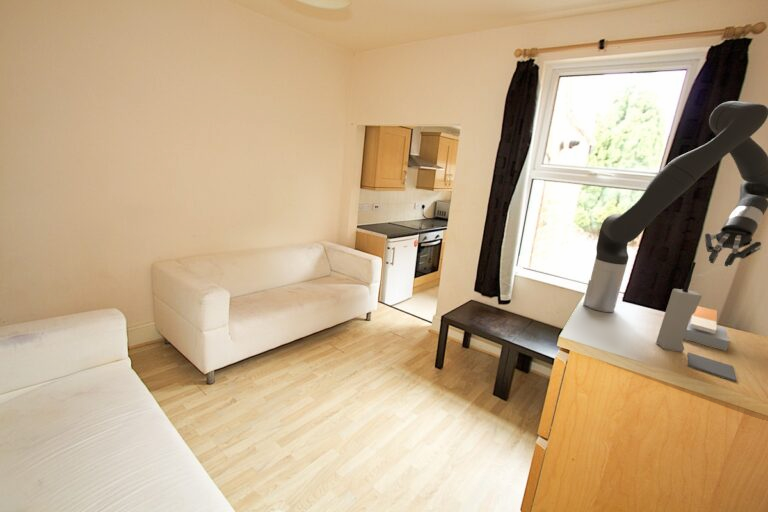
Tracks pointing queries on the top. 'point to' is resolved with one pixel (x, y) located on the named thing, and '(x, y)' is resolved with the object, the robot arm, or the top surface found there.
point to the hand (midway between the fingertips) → (719, 263)
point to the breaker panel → (708, 337)
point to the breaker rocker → (704, 319)
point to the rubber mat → (711, 366)
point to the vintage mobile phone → (678, 316)
